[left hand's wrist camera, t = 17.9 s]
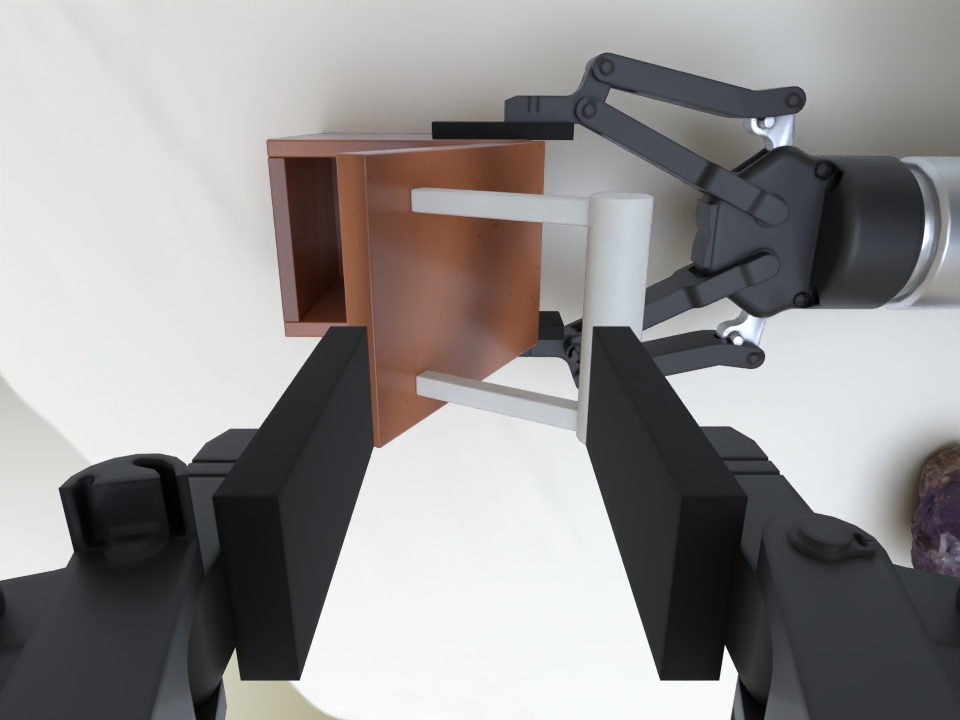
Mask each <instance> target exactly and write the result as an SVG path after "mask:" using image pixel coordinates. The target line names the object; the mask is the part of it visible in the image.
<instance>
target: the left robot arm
mask: <svg viewBox="0 0 960 720" xmlns="http://www.w3.org/2000/svg"><path fill="white" fill-rule="evenodd" d="M373 447H374V432H373V415H372V399H371V382H370V365H369V349H368V332H367V326H330V327H329V329H328V330H327V332H326V333H325V335H324V336H323V338H322V339H321V340H320V342H319V343H318V345H317V346H316V348H315V349H314V350H313V352H312V353H311V355H310V356H309V358H308V359H307V361H306V362H305V363H304V365H303V366H302V368H301V369H300V371H299V372H298V373H297V375H296V376H295V378H294V379H293V381H292V382H291V384H290V385H289V386H288V388H287V389H286V391H285V392H284V394H283V395H282V396H281V398H280V399H279V401H278V402H277V404H276V405H275V407H274V408H273V409H272V411H271V412H270V414H269V415H268V417H267V418H266V420H265V421H264V422H263V424H262V425H261V427H260V428H259V429H229V430H227V431H226V432H224V433H222V434H221V435H219V436H217V437H216V438H214V439H212V440H211V441H209V442H207V443H206V444H205V445H204V446H203V447H202V449H201V450H200V451H199V452H198V454H197V455H196V456H195V457H194V458H193V460H192V463H189V464H188V466H186V464H185V463H184V462H182V461H181V460H180V459H178V458H177V457H174V456H169V455H164V454H135V455H129V456H123V457H118V458H113V459H110V460H107V461H104V462H101V463H98V464H95V465H92V466H90V467H88V468H86V469H84V470H82V471H81V472H79V473H77V474H75V475H73V476H71V477H70V478H69V479H68V480H67V481H66V482H65V483H64V484H63V485H62V486H61V487H60V488H59V492H60V496H61V500H62V504H63V508H64V513H65V517H66V521H67V525H68V529H69V533H70V537H71V541H72V545H73V549H74V553H73V555H72V557H71V559H70V561H69V563H68V565H67V567H66V568H62V569H58V570H54V571H49V572H43V573H38V574H33V575H28V576H23V577H18V578H12V579H7V580H2V581H0V720H225V715H226V708H227V705H226V697H225V690H224V684H223V678H222V675H223V673H224V671H225V669H226V667H227V664H228V662H229V660H230V658H231V656H232V654H233V651H234V649H235V647H236V653H237V659H238V666H239V672H240V678H241V680H242V681H245V680H247V681H249V680H251V681H252V680H254V681H255V680H258V681H260V680H262V681H263V680H264V681H267V680H270V681H275V680H279V681H281V680H282V681H300V678H301V674H302V671H303V668H304V665H305V662H306V659H307V656H308V652H309V649H310V646H311V643H312V640H313V637H314V633H315V630H316V627H317V624H318V621H319V618H320V614H321V611H322V608H323V605H324V602H325V599H326V596H327V592H328V589H329V586H330V583H331V580H332V577H333V573H334V570H335V567H336V564H337V561H338V558H339V555H340V551H341V548H342V545H343V542H344V539H345V536H346V532H347V529H348V526H349V523H350V520H351V517H352V513H353V510H354V507H355V504H356V501H357V498H358V495H359V491H360V488H361V485H362V482H363V479H364V476H365V472H366V469H367V466H368V463H369V460H370V457H371V453H372V450H373ZM586 447H587V450H588V453H589V457H590V460H591V463H592V466H593V469H594V472H595V476H596V479H597V482H598V485H599V488H600V491H601V495H602V498H603V501H604V504H605V507H606V510H607V513H608V517H609V520H610V523H611V526H612V529H613V532H614V536H615V539H616V542H617V545H618V548H619V551H620V555H621V558H622V561H623V564H624V567H625V570H626V573H627V577H628V580H629V583H630V586H631V589H632V592H633V596H634V599H635V602H636V605H637V608H638V611H639V614H640V618H641V621H642V624H643V627H644V630H645V633H646V637H647V640H648V643H649V646H650V649H651V652H652V656H653V659H654V662H655V665H656V668H657V671H658V674H659V678H660V681H719V679H720V672H721V666H722V659H723V653H724V647H725V646H726V648H727V650H728V652H729V654H730V657H731V659H732V661H733V663H734V665H735V667H736V670H737V672H738V678H737V684H736V690H735V696H734V702H733V708H732V714H731V720H960V577H954V576H949V575H944V574H938V573H933V572H928V571H923V570H917V569H912V568H907V567H903V566H899V565H895V564H893V563H892V561H891V560H890V558H889V556H888V554H887V552H886V551H885V549H884V548H883V547H882V546H881V545H880V544H879V542H878V541H877V540H876V539H875V538H874V537H873V536H871V535H870V534H868V533H866V532H865V531H863V530H862V529H860V528H859V527H857V526H855V525H853V524H850V523H848V522H845V521H843V520H840V519H838V518H835V517H832V516H827V515H822V514H818V513H814V512H813V511H812V510H811V508H810V507H809V506H808V505H807V504H806V502H805V501H804V500H803V499H802V498H801V496H800V495H799V494H798V493H797V492H796V490H795V489H794V488H793V487H792V486H791V484H790V483H789V482H788V481H787V480H786V478H785V477H784V476H783V475H780V471H779V470H778V469H777V468H776V466H775V465H774V464H773V463H772V462H771V461H768V457H767V455H766V454H765V453H764V452H763V451H762V449H761V448H760V447H759V446H758V445H757V443H756V442H755V441H754V440H752V439H750V438H749V437H747V436H745V435H744V434H742V433H740V432H738V431H737V430H735V429H733V428H732V427H699V425H698V424H697V422H696V421H695V420H694V418H693V417H692V415H691V414H690V412H689V411H688V409H687V408H686V407H685V405H684V404H683V402H682V401H681V399H680V398H679V396H678V395H677V394H676V392H675V391H674V389H673V388H672V386H671V385H670V384H669V382H668V381H667V379H666V378H665V376H664V375H663V373H662V372H661V371H660V369H659V368H658V366H657V365H656V363H655V362H654V361H653V359H652V358H651V356H650V355H649V353H648V352H647V350H646V349H645V348H644V346H643V345H642V343H641V342H640V340H639V339H638V338H637V336H636V335H635V333H634V332H633V330H632V329H631V327H630V326H593V332H592V349H591V365H590V382H589V398H588V415H587V432H586Z"/></svg>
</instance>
